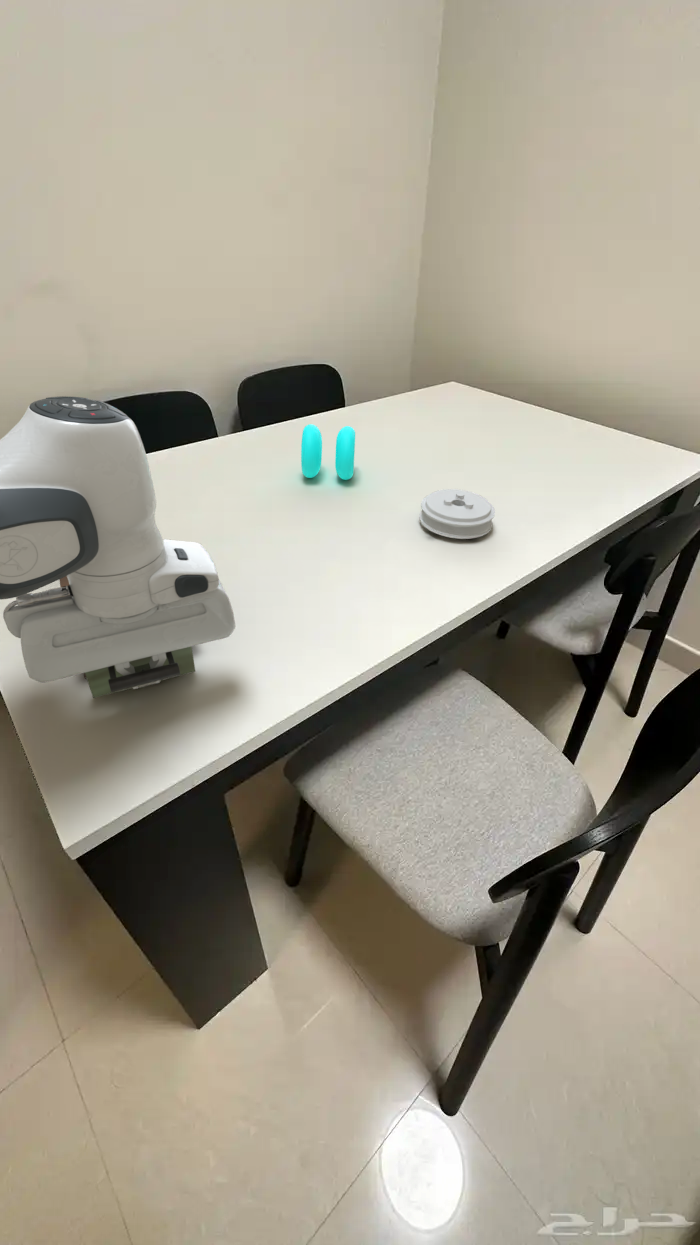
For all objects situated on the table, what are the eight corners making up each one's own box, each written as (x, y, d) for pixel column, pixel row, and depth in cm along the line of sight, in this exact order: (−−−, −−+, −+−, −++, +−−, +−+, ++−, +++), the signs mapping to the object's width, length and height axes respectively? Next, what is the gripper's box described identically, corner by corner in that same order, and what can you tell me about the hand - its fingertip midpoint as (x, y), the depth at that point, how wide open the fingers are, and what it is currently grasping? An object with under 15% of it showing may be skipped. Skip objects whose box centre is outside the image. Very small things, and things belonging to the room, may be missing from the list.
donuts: (352, 488, 111) (355, 437, 105) (300, 486, 111) (300, 435, 105) (353, 467, 119) (356, 419, 113) (305, 465, 119) (304, 416, 113)
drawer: (205, 699, 65) (197, 646, 60) (98, 729, 61) (80, 675, 56) (172, 608, 78) (163, 558, 73) (81, 627, 74) (65, 576, 69)
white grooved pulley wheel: (471, 505, 108) (476, 480, 105) (504, 539, 99) (510, 513, 96) (408, 512, 105) (411, 486, 102) (435, 547, 96) (439, 520, 92)
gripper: (-4, 621, 49) (43, 731, 57) (234, 572, 56) (244, 676, 65) (-4, 581, 53) (39, 689, 62) (216, 540, 60) (228, 642, 69)
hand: (145, 682), depth 63 cm, fingers closed
